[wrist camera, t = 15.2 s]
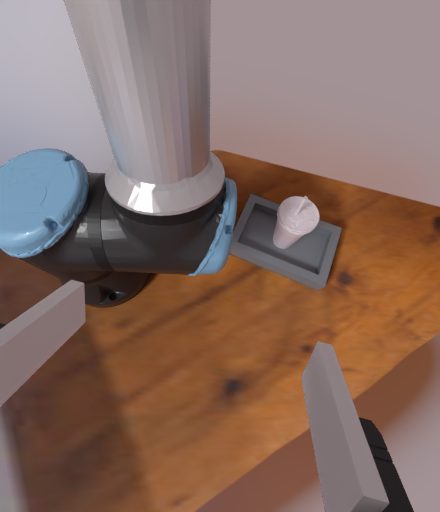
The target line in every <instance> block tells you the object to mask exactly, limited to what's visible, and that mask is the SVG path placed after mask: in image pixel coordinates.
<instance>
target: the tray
mask: <svg viewBox="0 0 440 512" xmlns="http://www.w3.org/2000/svg"><path fill="white" fill-rule="evenodd" d="M279 206H280V204H277V203H274V202H272V201H269V200H267V199H264V198H261V197H259V196H256V195H253V194H250V196H249V199H248V201H247V203H246V205H245V207H244V209H243V211H242V214H241V216H240V218H239V220H238V222H237V224H236V226H235V228H234V231H233V239H232V244H231V248H230V252H229V254H231V255H233V256H236V257H238V258H241V259H243V260H246V261H248V262H250V263H253V264H255V265H258V266H260V267H262V268H265V269H267V270H270V271H272V272H274V273H277V274H279V275H282V276H284V277H287V278H289V279H291V280H294V281H296V282H299V283H301V284H303V285H306V286H308V287H311V288H313V289H315V290H320V289H322V288H323V287H325V285H326V282H327V278H328V275H329V271H330V268H331V264H332V261H333V258H334V254H335V251H336V247H337V244H338V240H339V237H340V234H341V230H342V228H340V227H338V226H335V225H332V224H330V223H327V222H324V221H322V220H319V222H318V224H317V226H316V227H315V229H314V230H313V231H311V232H310V233H308V234H305V235H303V236H302V237H301V238H300V239H299V240H297V241H296V242H295V243H294V244H292V245H291V246H290V247H289V248H286V249H281V248H278V247H277V246H276V245H275V244H274V243H273V235H274V231H275V227H276V223H277V219H278V218H277V211H278V208H279Z"/></svg>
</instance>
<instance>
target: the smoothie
mask: <svg viewBox="0 0 440 512" xmlns="http://www.w3.org/2000/svg"><path fill="white" fill-rule="evenodd" d="M319 217H320V216H319V211H318V209H317V207H316V206H315V204H314V203H313V202H311V201H310V200H308V197H307V196H304V197H300V196H293V197H289V198H287V199H285V200H284V201H283V202H282V203H281V205H280V206H279V208H278V211H277V218H278V219H277V223H276V227H275V231H274V235H273V243H274V244H275V245H276V246H277V247H278V248H281V249H286V248H289V247H290V246H291V245H292V244H294V243H295V242H296V241H297V240H299V239H300V238H301V237H302V236H303V235H305V234H308V233H310V232H311V231H313V230H314V229H315V227H316V226H317V224H318V222H319Z"/></svg>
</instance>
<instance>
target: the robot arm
mask: <svg viewBox="0 0 440 512" xmlns="http://www.w3.org/2000/svg"><path fill="white" fill-rule="evenodd" d="M64 2H65V6H66V8H67V12H68V15H69V18H70V21H71V24H72V27H73V30H74V34H75V37H76V39H77V43H78V46H79V49H80V52H81V55H82V58H83V62H84V65H85V68H86V71H87V74H88V77H89V80H90V83H91V86H92V90H93V92H94V96H95V99H96V102H97V105H98V108H99V111H100V115H101V117H102V121H103V124H104V127H105V130H106V133H107V136H108V139H109V143H110V146H111V149H112V152H113V155H114V158H115V159H114V160H113V161H112V162H111V164H110V165H109V167H108V169H107V171H106V173H90V172H87V170H86V168H85V166H84V165H83V163H81V162H80V161H79V160H77V159H75V158H74V157H73V156H72V155H71V154H69V153H67V152H65V151H61V150H58V149H38V150H33V151H29V152H26V153H23V154H21V155H18V156H17V157H15V158H13V159H11V160H9V161H8V162H7V163H6V164H5V165H3V166H1V167H0V248H1V249H2V250H3V251H4V252H6V253H7V254H9V255H11V256H14V257H18V258H20V259H22V260H24V261H26V262H28V263H30V264H32V265H34V266H36V267H38V268H40V269H42V270H44V271H46V272H48V273H50V274H52V275H54V276H56V277H58V278H59V279H60V281H61V283H62V284H63V286H62V287H60V288H59V289H57V290H56V291H54V292H53V293H52V294H50V295H49V296H47V297H46V298H44V299H43V300H42V301H40V302H39V303H37V304H36V305H34V306H33V307H32V308H30V309H29V310H27V311H26V312H24V313H23V314H21V315H20V316H19V317H17V318H16V319H14V320H13V321H11V322H10V323H9V324H7V325H5V324H1V323H0V406H1V405H2V404H3V403H4V402H5V401H7V400H8V399H9V398H10V397H11V396H12V395H13V394H14V393H15V392H16V391H17V390H18V389H19V388H20V387H21V386H22V385H23V384H24V383H25V382H26V381H27V380H28V379H29V378H30V377H31V376H32V375H33V374H34V373H35V372H36V371H37V370H38V369H39V368H40V367H41V366H42V365H43V364H44V363H45V362H46V361H47V360H48V359H49V358H50V357H51V356H52V355H53V354H54V353H55V352H56V351H57V350H58V349H59V348H60V347H61V346H62V345H63V344H64V343H65V342H66V341H67V340H68V339H69V338H70V337H71V336H72V335H73V334H74V333H75V332H76V331H77V330H78V329H79V328H80V327H81V326H82V325H83V324H84V323H85V304H87V305H90V306H93V307H100V308H105V307H113V306H117V305H120V304H122V303H124V302H126V301H128V300H130V299H131V298H133V297H134V296H135V295H136V294H138V293H139V292H140V290H141V289H142V288H143V287H144V285H145V284H146V282H147V280H148V278H149V276H150V273H162V274H182V275H188V276H194V275H197V274H214V273H217V272H219V271H220V270H221V269H222V268H223V267H224V265H225V264H226V261H227V259H228V256H229V252H230V248H231V244H232V239H233V228H234V224H235V220H236V211H237V187H236V184H235V182H234V181H233V180H231V179H228V178H227V177H225V171H224V167H223V165H222V163H221V161H220V160H219V158H218V157H217V156H216V155H215V154H213V153H212V152H211V151H210V7H211V6H210V3H211V1H210V0H64ZM301 379H302V385H303V390H304V396H305V402H306V407H307V413H308V419H309V424H310V430H311V436H312V441H313V447H314V452H315V458H316V464H317V470H318V475H319V481H320V486H321V492H322V498H323V503H324V509H325V512H414V511H413V508H412V506H411V504H410V501H409V499H408V497H407V494H406V492H405V489H404V487H403V485H402V483H401V480H400V478H399V475H398V473H397V470H396V468H395V466H394V464H393V463H392V462H393V461H392V459H391V456H390V454H389V452H388V451H387V447H386V444H385V442H384V440H383V437H382V435H381V434H380V432H379V431H378V429H377V428H376V427H375V425H374V424H373V423H372V421H370V420H367V419H363V418H359V417H358V415H357V412H356V409H355V407H354V404H353V401H352V398H351V396H350V393H349V390H348V387H347V384H346V382H345V379H344V376H343V373H342V371H341V368H340V365H339V362H338V360H337V357H336V354H335V351H334V349H333V346H332V345H331V344H327V343H323V342H319V341H318V342H317V344H316V346H315V348H314V351H313V353H312V355H311V357H310V360H309V362H308V364H307V366H306V368H305V371H304V373H303V375H302V377H301Z"/></svg>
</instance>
